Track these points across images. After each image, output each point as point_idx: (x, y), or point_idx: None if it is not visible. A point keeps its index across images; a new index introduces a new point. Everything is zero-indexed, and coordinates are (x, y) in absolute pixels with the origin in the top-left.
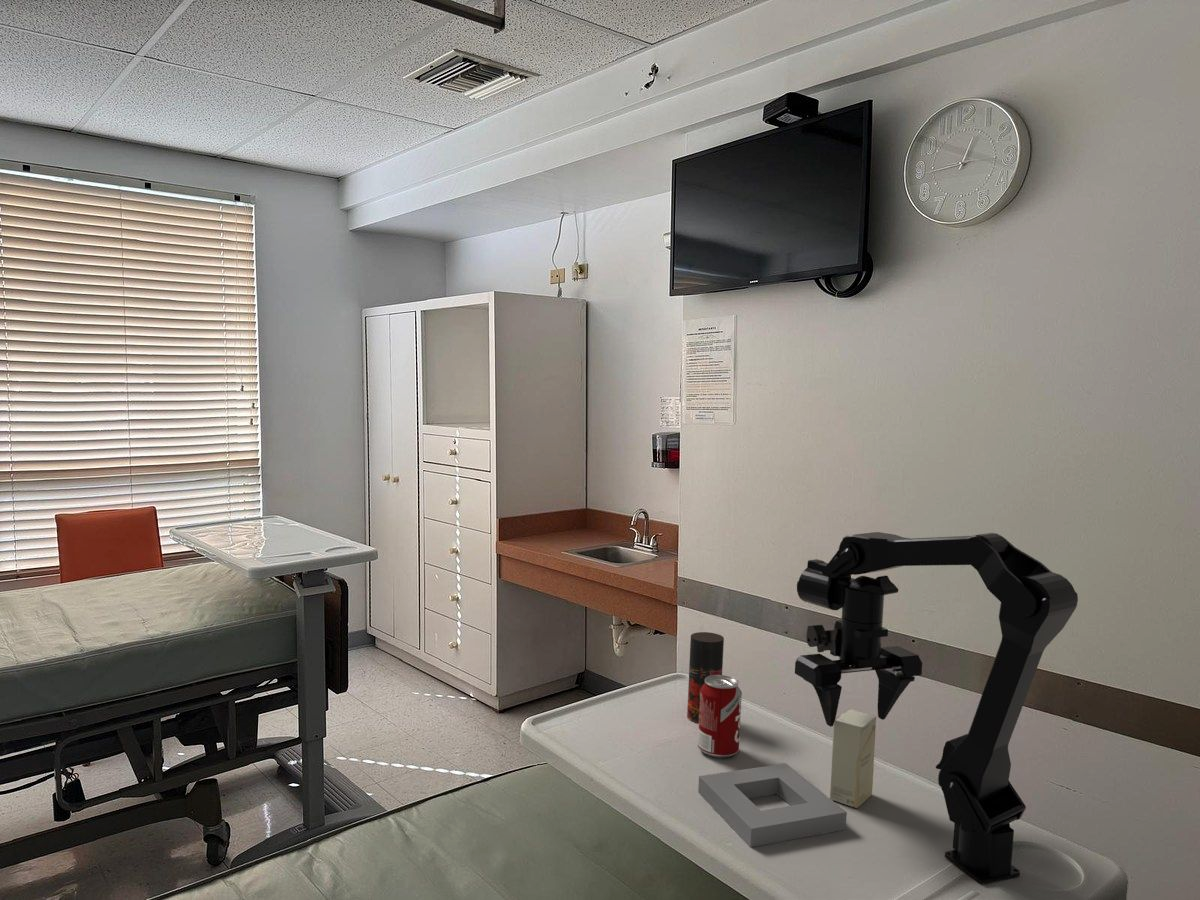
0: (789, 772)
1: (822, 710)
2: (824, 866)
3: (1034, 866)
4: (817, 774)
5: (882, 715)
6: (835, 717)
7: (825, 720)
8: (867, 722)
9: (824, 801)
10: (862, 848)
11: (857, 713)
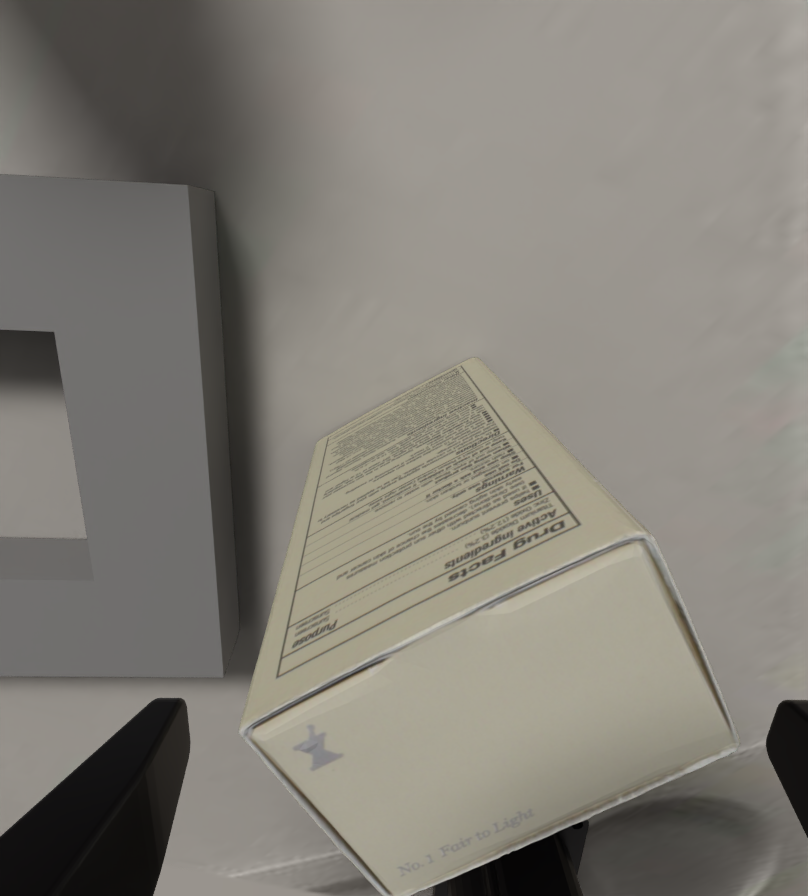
0: (149, 298)
1: (37, 803)
2: (45, 758)
3: (640, 880)
4: (420, 206)
5: (793, 778)
6: (151, 889)
7: (133, 718)
8: (534, 829)
9: (175, 593)
10: (227, 721)
11: (614, 662)
